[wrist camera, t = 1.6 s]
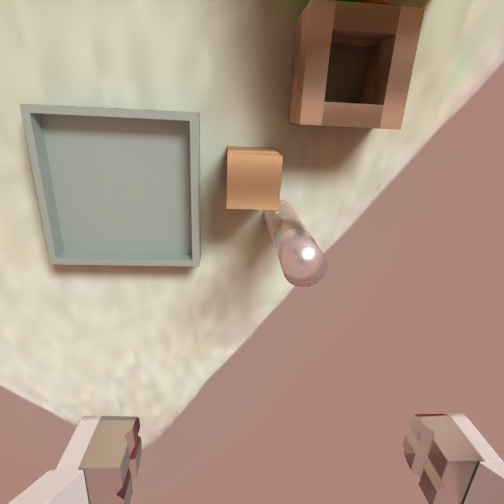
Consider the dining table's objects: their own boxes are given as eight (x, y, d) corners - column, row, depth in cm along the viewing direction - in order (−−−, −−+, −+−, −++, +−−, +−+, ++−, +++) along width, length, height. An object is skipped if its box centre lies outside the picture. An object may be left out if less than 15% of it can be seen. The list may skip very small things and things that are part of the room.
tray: (34, 104, 28) (19, 103, 26) (199, 112, 29) (197, 112, 27) (61, 254, 33) (50, 264, 31) (200, 257, 34) (199, 266, 32)
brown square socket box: (297, 17, 27) (311, -2, 22) (391, 25, 27) (424, 7, 23) (288, 122, 30) (299, 124, 25) (373, 126, 30) (400, 129, 26)
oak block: (227, 146, 30) (227, 154, 24) (272, 148, 30) (282, 156, 25) (226, 191, 32) (226, 208, 26) (269, 192, 32) (278, 210, 26)
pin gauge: (265, 199, 32) (285, 246, 21) (294, 200, 32) (330, 247, 21) (263, 227, 33) (281, 286, 22) (291, 228, 33) (324, 287, 22)
